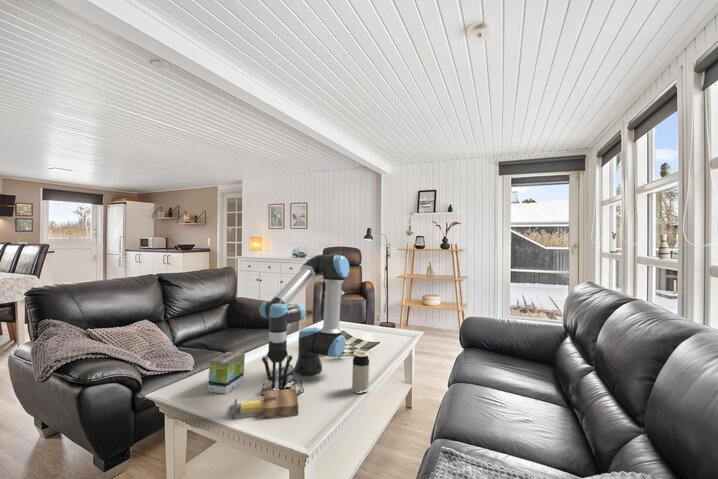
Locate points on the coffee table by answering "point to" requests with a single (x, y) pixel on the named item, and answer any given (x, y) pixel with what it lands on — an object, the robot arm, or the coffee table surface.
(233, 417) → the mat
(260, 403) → the yellow sticky note pad
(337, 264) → the robot arm
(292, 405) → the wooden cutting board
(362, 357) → the travel mug
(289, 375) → the camera
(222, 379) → the tea box
